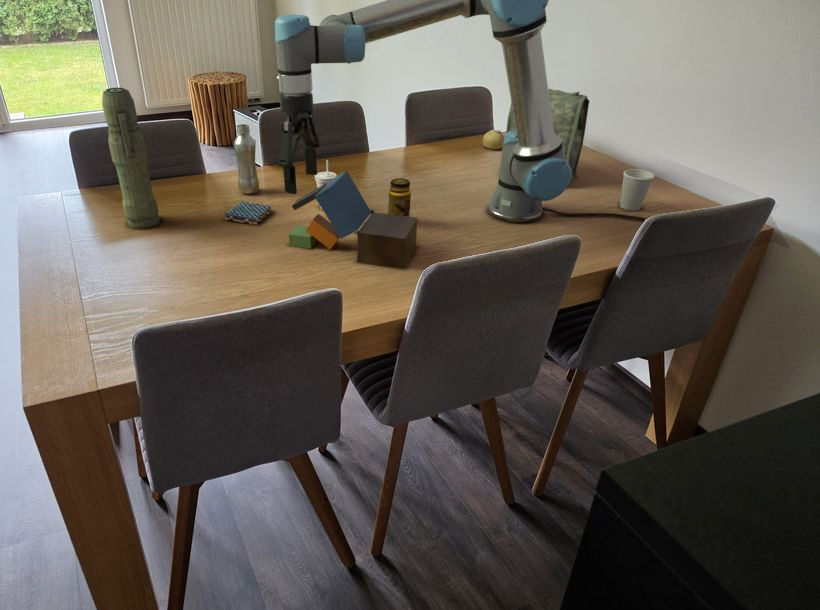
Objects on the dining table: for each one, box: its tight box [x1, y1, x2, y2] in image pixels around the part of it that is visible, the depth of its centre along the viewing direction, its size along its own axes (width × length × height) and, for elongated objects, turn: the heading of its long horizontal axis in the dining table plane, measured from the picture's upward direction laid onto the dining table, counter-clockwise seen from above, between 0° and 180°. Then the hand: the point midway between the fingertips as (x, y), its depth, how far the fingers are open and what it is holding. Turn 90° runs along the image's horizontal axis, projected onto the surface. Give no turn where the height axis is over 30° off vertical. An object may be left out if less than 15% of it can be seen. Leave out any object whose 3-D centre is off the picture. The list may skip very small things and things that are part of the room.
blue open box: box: [291, 170, 372, 240], centre depth 153 cm, size 12×12×14 cm
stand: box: [353, 208, 419, 270], centre depth 152 cm, size 12×14×8 cm
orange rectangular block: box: [306, 213, 341, 250], centre depth 157 cm, size 4×4×8 cm
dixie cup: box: [619, 168, 656, 212], centre depth 177 cm, size 8×8×10 cm
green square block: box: [288, 224, 319, 249], centre depth 160 cm, size 3×6×6 cm
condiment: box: [387, 177, 412, 217], centre depth 168 cm, size 7×8×12 cm
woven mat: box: [224, 200, 273, 226], centre depth 174 cm, size 10×11×2 cm
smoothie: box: [314, 159, 338, 210], centre depth 176 cm, size 6×6×14 cm
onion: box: [482, 128, 505, 151], centre depth 224 cm, size 8×8×7 cm
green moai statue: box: [101, 87, 161, 230], centre depth 161 cm, size 9×12×35 cm
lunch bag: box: [505, 88, 590, 180], centre depth 194 cm, size 22×16×27 cm
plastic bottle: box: [233, 123, 260, 195], centre depth 184 cm, size 6×7×20 cm
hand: (301, 183), depth 151 cm, fingers open, 13 cm apart
